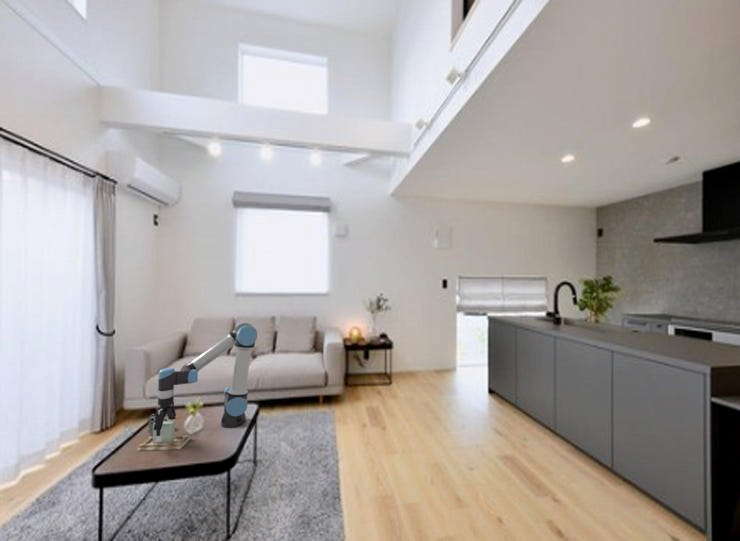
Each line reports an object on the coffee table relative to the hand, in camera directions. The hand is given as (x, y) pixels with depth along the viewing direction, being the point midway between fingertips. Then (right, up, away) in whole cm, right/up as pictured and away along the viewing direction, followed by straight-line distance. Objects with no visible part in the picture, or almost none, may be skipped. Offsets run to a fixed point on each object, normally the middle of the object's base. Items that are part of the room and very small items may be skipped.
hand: (164, 436), depth 184 cm
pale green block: (-1, -3, 0) cm, 4 cm away
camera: (-13, -5, +15) cm, 20 cm away
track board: (0, -5, 0) cm, 5 cm away
